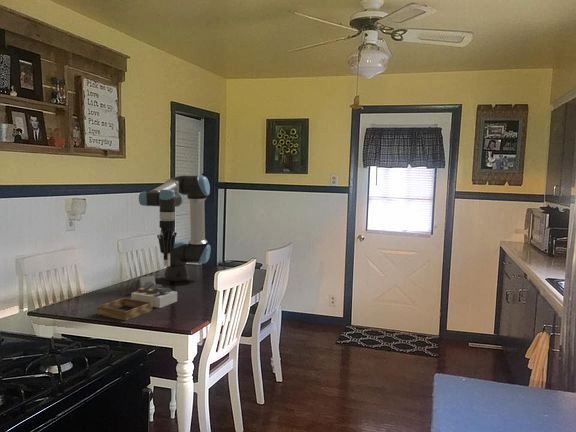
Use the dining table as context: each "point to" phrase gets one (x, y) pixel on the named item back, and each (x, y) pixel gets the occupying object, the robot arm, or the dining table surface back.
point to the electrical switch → (146, 280)
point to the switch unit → (156, 298)
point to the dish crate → (113, 312)
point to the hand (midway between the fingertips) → (167, 265)
